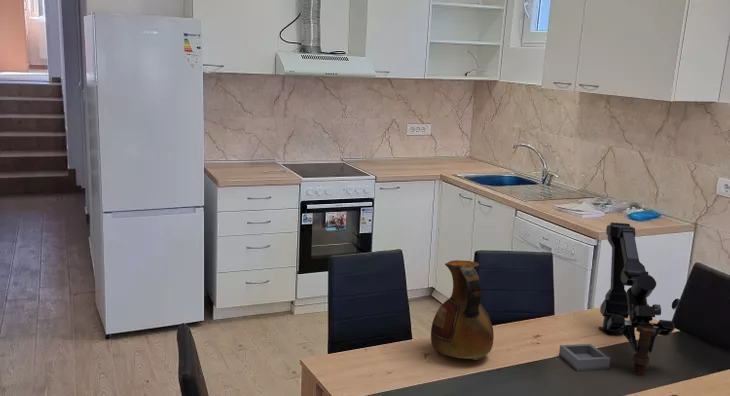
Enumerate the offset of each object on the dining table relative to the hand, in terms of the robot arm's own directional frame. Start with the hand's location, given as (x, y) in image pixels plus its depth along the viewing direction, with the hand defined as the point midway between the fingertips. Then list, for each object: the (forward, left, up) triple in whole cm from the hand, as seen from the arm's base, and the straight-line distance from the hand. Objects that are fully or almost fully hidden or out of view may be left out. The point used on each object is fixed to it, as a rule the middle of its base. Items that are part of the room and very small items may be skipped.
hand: (643, 351), depth 198 cm
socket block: (-10, -13, -8) cm, 18 cm away
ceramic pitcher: (-20, -51, -8) cm, 55 cm away
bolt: (-1, 0, -8) cm, 8 cm away
